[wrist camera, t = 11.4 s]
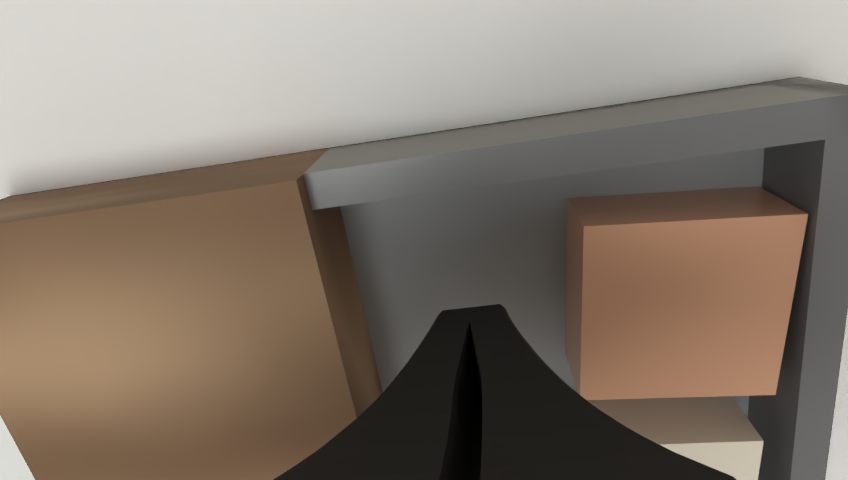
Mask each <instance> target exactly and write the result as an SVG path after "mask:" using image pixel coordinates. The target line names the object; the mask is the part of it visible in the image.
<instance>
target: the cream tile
mask: <svg viewBox="0 0 848 480" xmlns="http://www.w3.org/2000/svg"><path fill="white" fill-rule="evenodd" d="M587 401H588V402H590V403H591V404H592V405H594V406H595V407H596V408H598V409H599V410H601V411H602V412H604V413H605V414H607V415H608V416H610V417H612V418H613V419H615V420H616V421H618V422H619V423H621V424H623V425H624V426H626V427H627V428H629V429H631V430H633V431H634V432H636V433H638V434H640V435H642V436H644V437H645V438H647V439H649V440H651V441H653V442H655V443H657V444H659V445H661V446H663V447H665V448H667V449H669V450H671V451H673V452H675V453H678V454H680V455H682V456H685V457H687V458H690V459H692V460H694V461H697V462H699V463H702V464H704V465H706V466H709V467H711V468H714V469H716V470H718V471H721V472H723V473H726V474H728V475H731V476H733V477H734V478H736V480H758V475H759V468H760V462H761V455H762V449H763V442H764V441H763V439H762V438H761V436H760V435H759V434H758V432H757V431H756V429H755V428H754V427H753V425H752V424H751V422H750V421H749V420H748V418H747V417H746V415H745V414H744V413H743V411H742V410H741V408H740V407H739V406H738V404H737V403H736V401H735V400H734V399H733V397H732V396H718V397H682V398H646V399H609V400H587Z"/></svg>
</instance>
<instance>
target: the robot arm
mask: <svg viewBox="0 0 848 480" xmlns="http://www.w3.org/2000/svg"><path fill="white" fill-rule="evenodd" d="M273 480H736V478H734V477H733V476H731V475H728V474H726V473H723V472H721V471H718V470H716V469H714V468H711V467H709V466H706V465H704V464H702V463H699V462H697V461H694V460H692V459H690V458H687V457H685V456H682V455H680V454H678V453H675V452H673V451H671V450H669V449H667V448H665V447H663V446H661V445H659V444H657V443H655V442H653V441H651V440H649V439H647V438H645V437H644V436H642V435H640V434H638V433H636V432H634V431H633V430H631V429H629V428H627V427H626V426H624V425H623V424H621V423H619V422H618V421H616V420H615V419H613V418H612V417H610V416H608V415H607V414H605V413H604V412H602V411H601V410H599V409H598V408H596V407H595V406H594V405H592V404H591V403H590V402H588V401H587V400H586V399H584V398H583V397H582V396H581V395H579V394H578V393H577V392H576V391H575V390H573V389H572V388H571V387H570V386H569V385H568V384H566V383H565V382H564V381H563V380H562V379H561V378H560V377H559V376H558V375H557V374H556V373H555V372H554V371H553V370H552V369H551V368H550V367H549V366H548V365H547V364H546V363H545V362H544V361H543V360H542V359H541V358H540V357H539V356H538V354H537V353H536V352H535V351H534V350H533V348H532V347H531V346H530V345H529V344H528V342H527V341H526V340H525V339H524V337H523V336H522V335H521V334H520V332H519V331H518V329H517V328H516V326H515V325H514V323H513V322H512V320H511V319H510V317H509V315H508V313H507V311H506V308H505V307H503V306H502V305H501V304H495V305H486V306H477V307H468V308H460V309H451V310H442V311H441V312H440V314H439V315H438V316H437V318H436V319H435V321H434V323H433V324H432V326H431V328H430V329H429V331H428V333H427V334H426V336H425V337H424V339H423V340H422V342H421V343H420V345H419V346H418V348H417V349H416V351H415V352H414V353H413V355H412V356H411V358H410V359H409V361H408V362H407V363H406V365H405V366H404V367H403V369H402V370H401V371H400V372H399V373H398V375H397V376H396V377H395V378H394V380H393V381H392V382H391V383H390V385H389V386H388V387H387V388H386V389H385V391H384V392H383V393H382V394H381V395H380V396H379V397H378V398H377V399H376V400H375V401H374V402H373V403H372V404H371V405H370V406H369V407H368V408H367V409H366V410H365V411H364V412H363V413H362V414H361V415H360V416H359V417H358V418H357V419H355V420H354V421H353V422H352V423H351V424H349V425H348V426H347V427H346V428H344V429H343V430H342V431H341V432H340V433H338V434H337V435H336V436H335V437H333V438H332V439H331V440H330V441H328V442H327V443H326V444H325V445H324V446H322V447H321V448H320V449H318V450H317V451H315V452H314V453H313V454H311V455H310V456H308V457H307V458H305V459H304V460H303V461H301V462H300V463H298V464H297V465H295V466H294V467H292V468H291V469H289V470H287V471H286V472H284V473H283V474H281V475H280V476H278V477H276V478H275V479H273Z"/></svg>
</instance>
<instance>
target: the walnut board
mask: <svg viewBox="0 0 848 480" xmlns="http://www.w3.org/2000/svg"><path fill="white" fill-rule="evenodd" d="M328 149H329V148H326V149H320V150H313V151H306V152H300V153H293V154H286V155H280V156H273V157H267V158H260V159H253V160H247V161H240V162H234V163H227V164H220V165H214V166H207V167H200V168H194V169H187V170H181V171H174V172H167V173H161V174H154V175H148V176H141V177H134V178H128V179H121V180H114V181H108V182H101V183H95V184H88V185H81V186H75V187H68V188H62V189H55V190H48V191H42V192H35V193H28V194H22V195H15V196H9V197H6V198H4V199H1V200H0V415H1V417H2V419H3V421H4V423H5V425H6V426H7V428H8V430H9V432H10V434H11V436H12V437H13V439H14V441H15V443H16V445H17V447H18V448H19V450H20V452H21V454H22V456H23V458H24V460H25V461H26V463H27V465H28V467H29V469H30V471H31V472H32V474H33V476H34V478H35V480H273V479H275V478H276V477H278V476H280V475H281V474H283V473H284V472H286V471H287V470H289V469H291V468H292V467H294V466H295V465H297V464H298V463H300V462H301V461H303V460H304V459H305V458H307V457H308V456H310V455H311V454H313V453H314V452H315V451H317V450H318V449H320V448H321V447H322V446H324V445H325V444H326V443H327V442H328V441H330V440H331V439H332V438H333V437H335V436H336V435H337V434H338V433H340V432H341V431H342V430H343V429H344V428H346V427H347V426H348V425H349V424H351V423H352V422H353V421H354V420H355V419H357V418H358V417H359V416H360V415H361V414H362V413H363V412H364V411H365V410H366V409H367V408H368V407H369V406H370V405H371V404H372V403H373V402H374V401H375V400H376V399H377V398H378V397H379V396H380V395H381V394H382V393H383V392H382V387H381V383H380V379H379V374H378V370H377V366H376V361H375V357H374V352H373V348H372V344H371V339H370V335H369V331H368V326H367V322H366V318H365V313H364V309H363V304H362V300H361V296H360V291H359V287H358V283H357V278H356V274H355V270H354V265H353V261H352V256H351V252H350V248H349V243H348V239H347V235H346V230H345V226H344V222H343V217H342V213H341V209H340V206H338V207H330V208H323V209H316V210H312V208H311V204H310V200H309V196H308V192H307V188H306V184H305V180H304V176H303V173H304V172H305V171H306V170H308V169H309V168H310V167H311V166H312V165H313V164H314V163H315V162H316V161H317V160H318V159H319V158H320V157H321V156H322V155H323V154H324V153H325V152H326V151H327V150H328Z"/></svg>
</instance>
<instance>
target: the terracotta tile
mask: <svg viewBox="0 0 848 480" xmlns="http://www.w3.org/2000/svg"><path fill="white" fill-rule="evenodd" d="M807 218H808V213H806V212H804V211H802V210H801V209H799V208H797V207H795V206H793V205H792V204H790V203H788V202H786V201H785V200H783V199H781V198H779V197H777V196H776V195H774V194H772V193H770V192H769V191H767V190H765V189H763V188H761V187H760V186H757V187H741V188H725V189H708V190H692V191H676V192H659V193H643V194H627V195H610V196H594V197H578V198H567V261H566V357H567V360H568V363H569V367H570V370H571V373H572V376H573V380H574V383H575V386H576V389H577V393H578V394H579V395H581V396H582V397H583V398H584V399H586V400H609V399H646V398H682V397H718V396H755V395H776V390H777V384H778V379H779V373H780V368H781V362H782V357H783V351H784V346H785V340H786V335H787V329H788V324H789V318H790V312H791V307H792V301H793V296H794V290H795V285H796V279H797V274H798V268H799V263H800V257H801V252H802V246H803V241H804V235H805V229H806V224H807Z"/></svg>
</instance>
